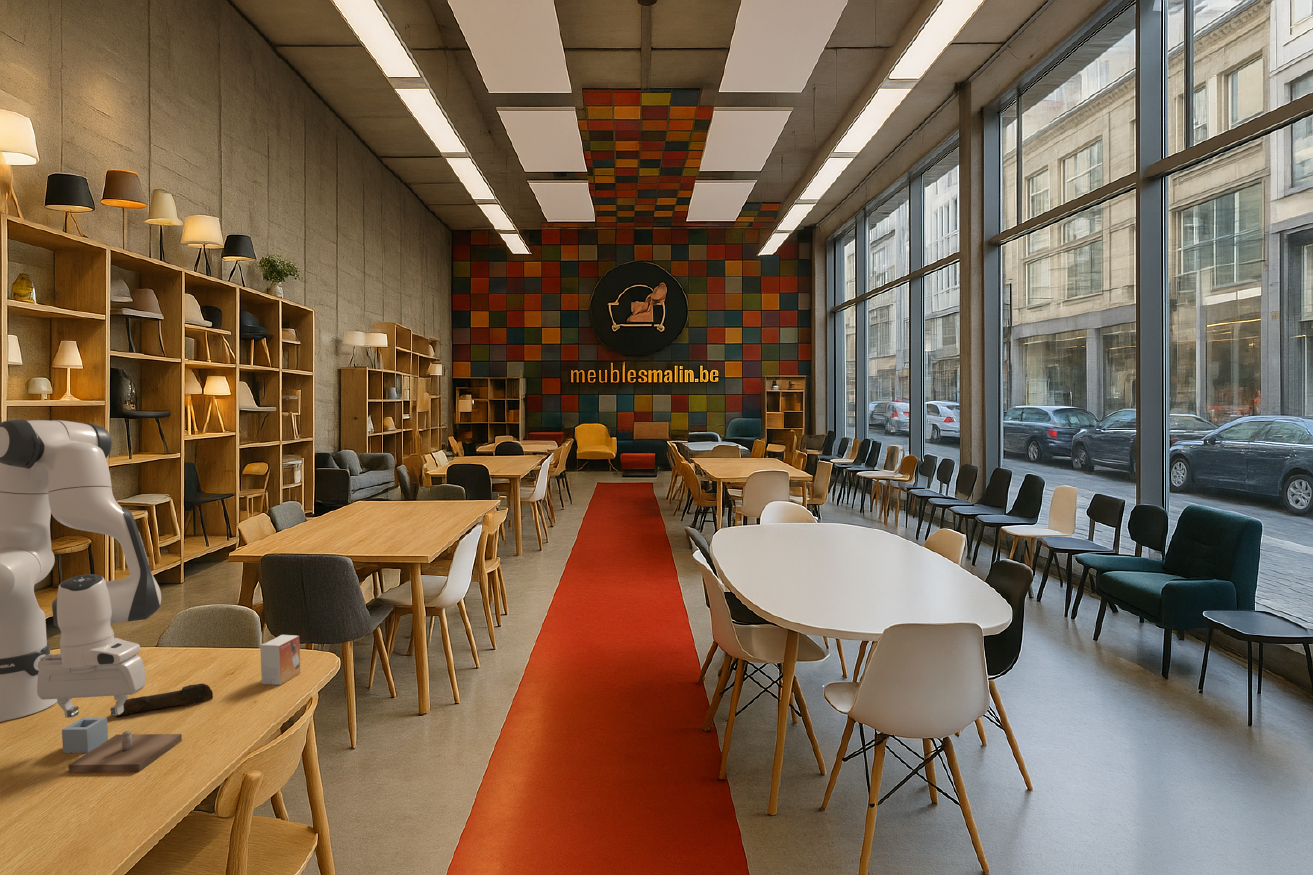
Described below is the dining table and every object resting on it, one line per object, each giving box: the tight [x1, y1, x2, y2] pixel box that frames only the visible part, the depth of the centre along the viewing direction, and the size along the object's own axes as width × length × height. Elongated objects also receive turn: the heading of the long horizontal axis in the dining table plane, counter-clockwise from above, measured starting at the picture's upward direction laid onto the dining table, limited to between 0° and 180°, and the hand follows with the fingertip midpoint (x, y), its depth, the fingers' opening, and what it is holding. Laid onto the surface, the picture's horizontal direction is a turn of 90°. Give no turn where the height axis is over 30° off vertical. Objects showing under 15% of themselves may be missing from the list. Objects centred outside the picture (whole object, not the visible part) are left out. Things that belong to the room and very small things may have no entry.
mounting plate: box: [68, 730, 183, 773], centre depth 139 cm, size 14×12×5 cm
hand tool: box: [115, 683, 214, 718], centre depth 161 cm, size 19×4×5 cm, turn 114°
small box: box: [259, 634, 301, 686], centre depth 177 cm, size 8×6×10 cm
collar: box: [61, 717, 109, 754], centre depth 143 cm, size 5×5×5 cm
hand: (94, 715), depth 144 cm, fingers open, 8 cm apart
